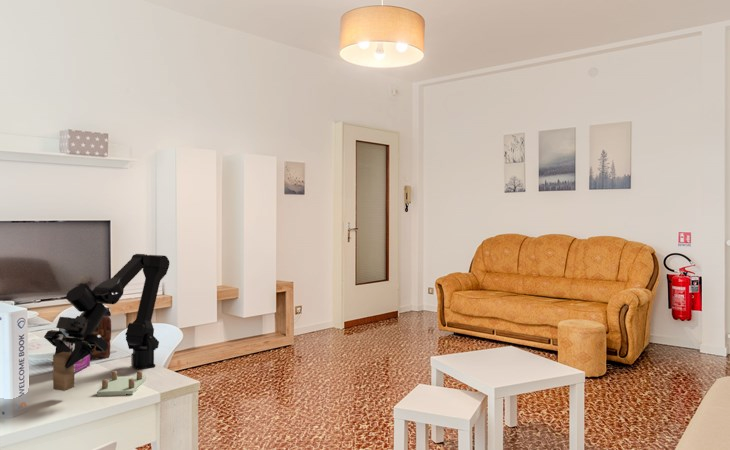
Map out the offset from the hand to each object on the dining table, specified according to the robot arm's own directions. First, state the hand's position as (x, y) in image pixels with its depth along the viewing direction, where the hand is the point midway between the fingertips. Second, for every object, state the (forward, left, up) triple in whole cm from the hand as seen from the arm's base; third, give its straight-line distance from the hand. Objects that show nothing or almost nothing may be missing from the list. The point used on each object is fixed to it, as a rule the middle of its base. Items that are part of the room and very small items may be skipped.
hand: (59, 366), depth 152 cm
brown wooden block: (-1, -1, -7) cm, 7 cm away
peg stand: (-17, -2, -10) cm, 20 cm away
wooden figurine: (-16, -42, -10) cm, 46 cm away
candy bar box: (-8, -29, -10) cm, 32 cm away
